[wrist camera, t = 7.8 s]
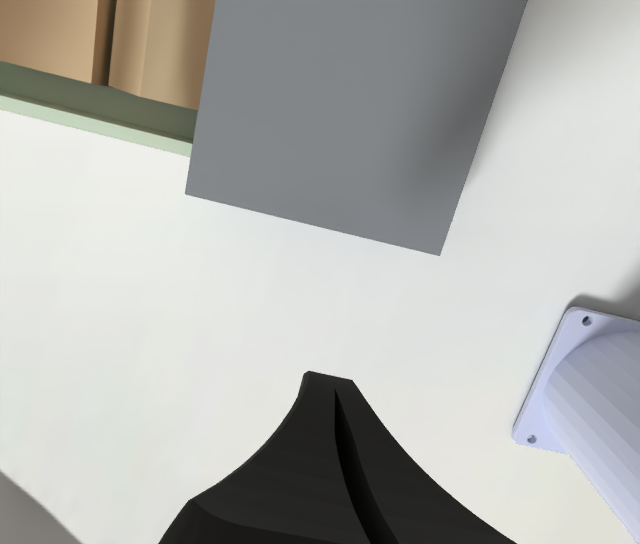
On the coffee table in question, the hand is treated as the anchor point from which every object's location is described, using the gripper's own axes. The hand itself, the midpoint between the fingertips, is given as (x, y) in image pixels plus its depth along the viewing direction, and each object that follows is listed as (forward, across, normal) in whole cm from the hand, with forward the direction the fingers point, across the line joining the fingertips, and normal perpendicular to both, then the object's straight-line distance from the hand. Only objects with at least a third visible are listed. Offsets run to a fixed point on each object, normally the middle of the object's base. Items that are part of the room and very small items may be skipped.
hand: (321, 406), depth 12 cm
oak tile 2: (+8, +12, -8) cm, 17 cm away
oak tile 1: (+8, +7, -8) cm, 14 cm away
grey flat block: (+10, +1, -8) cm, 13 cm away
